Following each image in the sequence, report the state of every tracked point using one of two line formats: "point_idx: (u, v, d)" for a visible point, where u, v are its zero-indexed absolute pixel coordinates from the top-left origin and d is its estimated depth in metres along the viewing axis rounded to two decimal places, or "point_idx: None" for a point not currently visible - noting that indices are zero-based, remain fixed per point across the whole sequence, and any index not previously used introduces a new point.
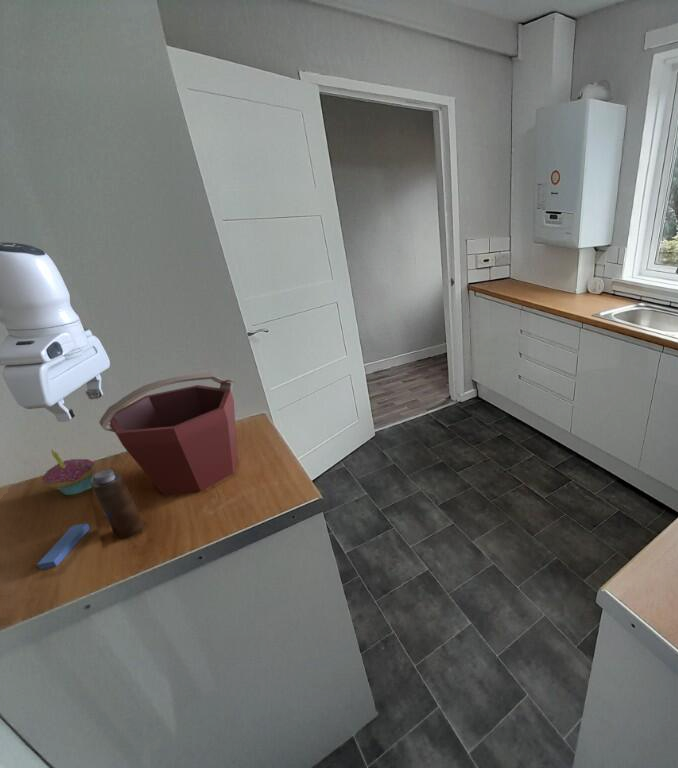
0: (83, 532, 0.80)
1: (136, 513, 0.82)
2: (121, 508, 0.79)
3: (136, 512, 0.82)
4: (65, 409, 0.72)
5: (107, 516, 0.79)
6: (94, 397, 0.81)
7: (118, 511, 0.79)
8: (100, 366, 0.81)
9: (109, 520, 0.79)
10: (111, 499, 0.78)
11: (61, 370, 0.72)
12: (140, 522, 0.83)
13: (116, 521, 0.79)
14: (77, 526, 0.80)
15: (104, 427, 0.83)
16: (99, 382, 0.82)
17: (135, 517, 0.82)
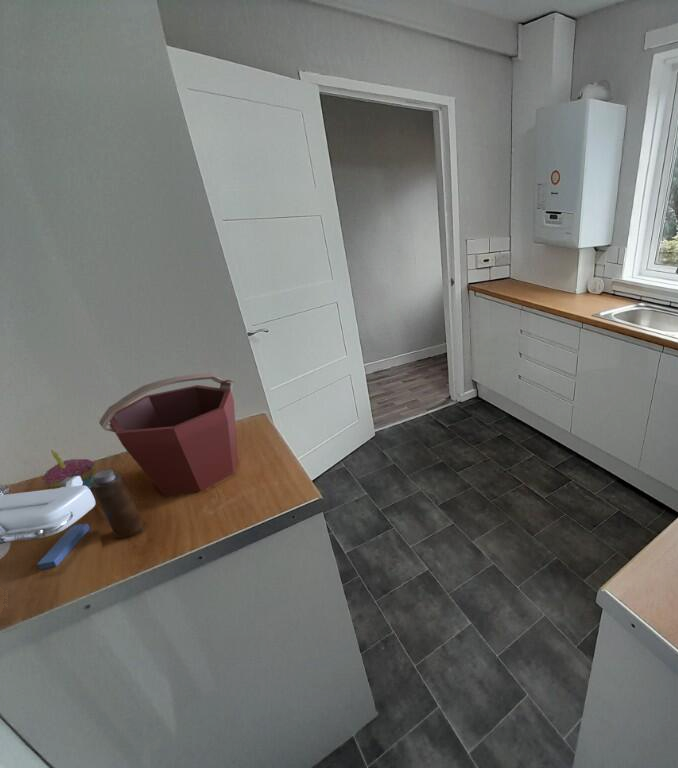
0: (83, 532, 0.80)
1: (136, 513, 0.82)
2: (121, 508, 0.79)
3: (136, 512, 0.82)
4: None
5: (107, 516, 0.79)
6: None
7: (118, 511, 0.79)
8: None
9: (109, 520, 0.79)
10: (111, 499, 0.78)
11: None
12: (140, 522, 0.83)
13: (116, 521, 0.79)
14: (77, 526, 0.80)
15: (104, 427, 0.83)
16: None
17: (135, 517, 0.82)
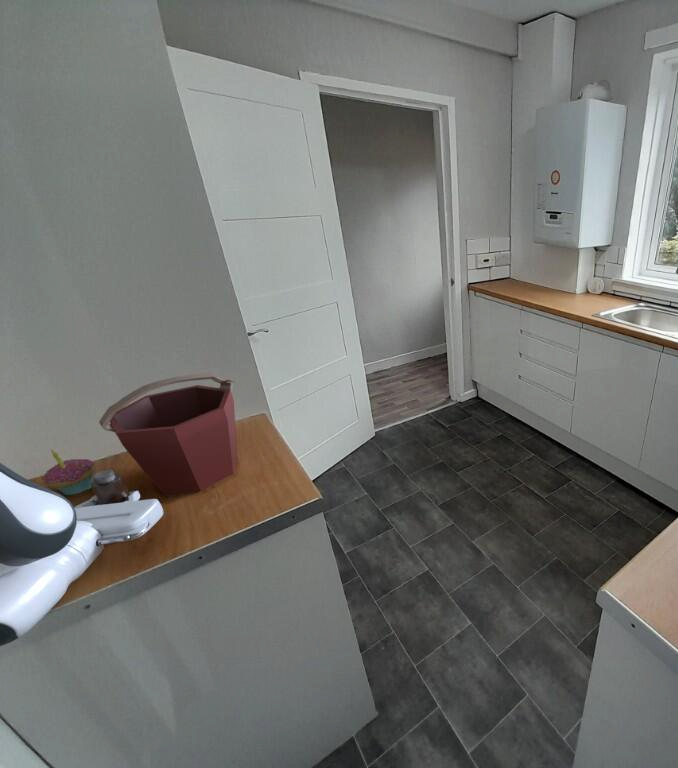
0: None
1: None
2: None
3: None
4: None
5: None
6: None
7: None
8: None
9: None
10: (111, 499, 0.78)
11: None
12: None
13: None
14: None
15: (104, 427, 0.83)
16: None
17: None
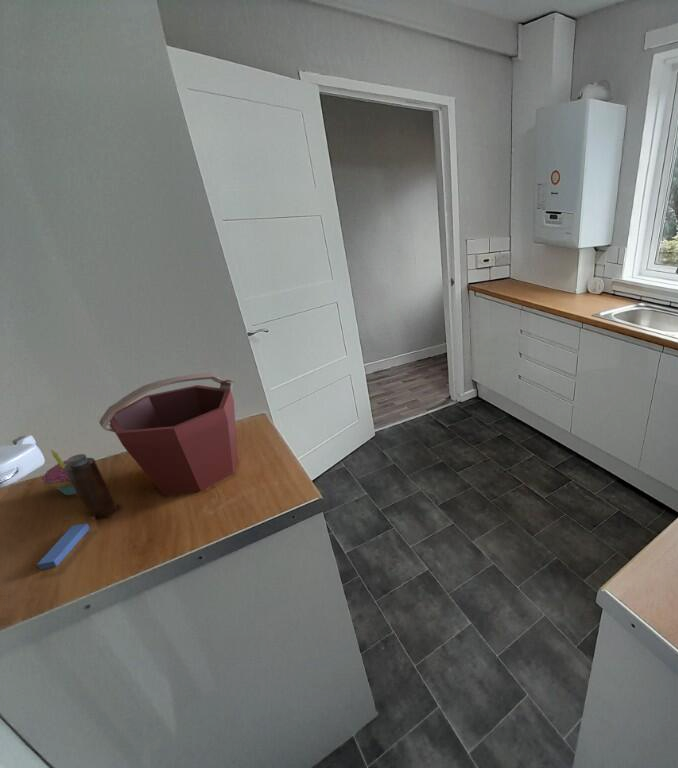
0: (83, 532, 0.80)
1: (109, 496, 0.87)
2: (94, 490, 0.84)
3: (109, 495, 0.87)
4: None
5: (80, 498, 0.83)
6: None
7: (91, 493, 0.84)
8: None
9: (82, 501, 0.84)
10: (84, 481, 0.82)
11: None
12: (113, 504, 0.88)
13: (89, 503, 0.84)
14: (77, 526, 0.80)
15: (104, 427, 0.83)
16: None
17: (108, 500, 0.86)
